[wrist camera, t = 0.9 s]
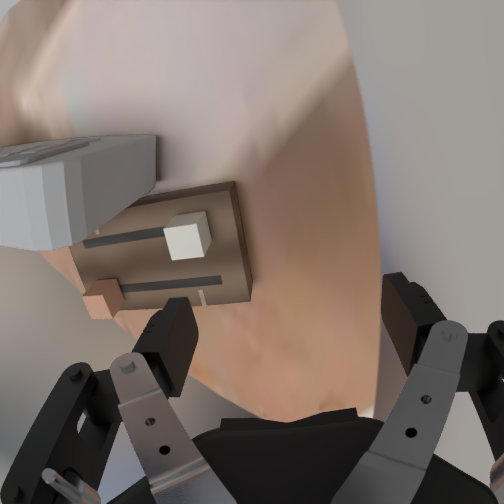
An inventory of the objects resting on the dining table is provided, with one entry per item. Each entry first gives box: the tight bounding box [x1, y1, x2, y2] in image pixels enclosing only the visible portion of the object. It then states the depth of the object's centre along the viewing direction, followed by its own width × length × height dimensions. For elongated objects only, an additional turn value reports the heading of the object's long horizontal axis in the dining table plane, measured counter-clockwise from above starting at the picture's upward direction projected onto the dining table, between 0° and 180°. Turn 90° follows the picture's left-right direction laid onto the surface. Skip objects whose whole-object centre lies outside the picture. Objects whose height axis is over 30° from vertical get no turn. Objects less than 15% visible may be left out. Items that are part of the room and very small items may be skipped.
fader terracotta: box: [82, 279, 125, 319], centre depth 31 cm, size 3×3×4 cm
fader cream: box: [163, 211, 212, 260], centre depth 27 cm, size 3×3×4 cm
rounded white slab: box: [0, 135, 156, 251], centre depth 22 cm, size 29×8×18 cm, turn 86°
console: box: [69, 181, 253, 310], centre depth 33 cm, size 12×20×4 cm, turn 99°
